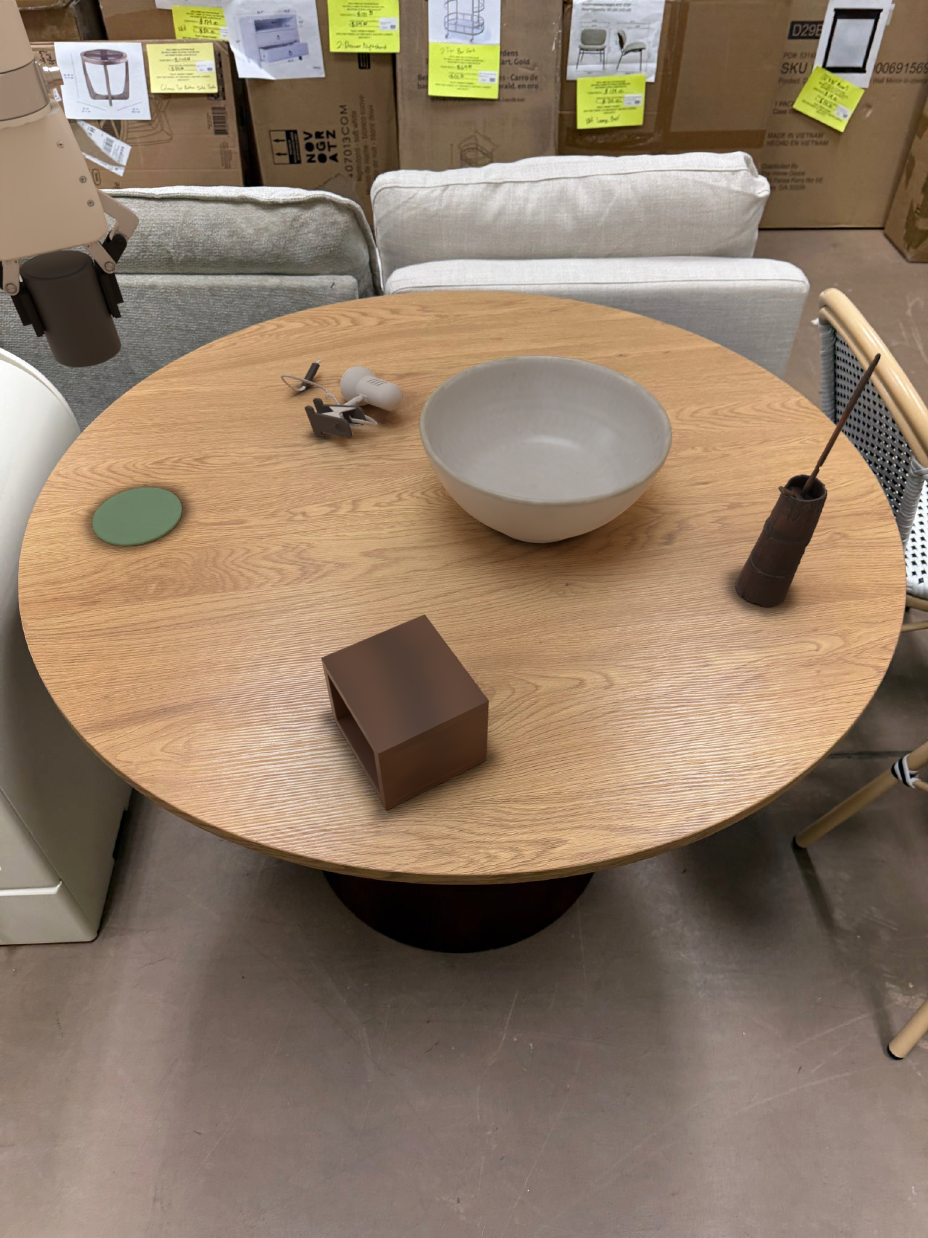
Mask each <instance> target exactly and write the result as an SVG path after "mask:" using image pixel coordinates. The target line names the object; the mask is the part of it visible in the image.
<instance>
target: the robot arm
mask: <svg viewBox="0 0 928 1238" xmlns="http://www.w3.org/2000/svg"><path fill="white" fill-rule="evenodd" d="M17 3H18V2H17V0H0V290H2V291H4V293H5V294H6V295H8V296H10V298H11V301H12V303H13V306H14V308H15V310H16V312H17V315H18V317H19V320H20V322H21V325H22V326H23V327H28V326H30V325H31V326H32V328H33V330H34V333H35V335H36V337H37V339H38V338H42V337H44V336H45V333H44V330H43V328H42V325H41V323H40V321H39V318H38V316H37V313H36V311H35V308H34V306H33V304H32V301H31V299H30V296H29V294H28V292H27V289H26V288H25V286H24V283H23V281H22V280H20V278H21V276H20V267H21V259H28V258H33V257H35V256H38V255H42V254H47V253H51V252H56V251H61V250H71V249H74V248H79V247H84V248H85V250H86V251H87V252H88V254H89V255H90V257H91V258H92V259H93V263H94V266H95V269H96V272H97V275H98V278H99V281H100V283H101V286H102V289H103V292H104V295H105V298H106V301H107V304H108V307H109V310H110V313H111V316H112V318H113V319H114V318H115V319H120V318H122V313H121V311H120V308H119V305H120V304H124V303H125V301H124V298H123V295H122V291H121V288H120V285H119V281H118V279H117V275H116V274H115V272H117V270H118V269H117V268H118V267H117V265H118V263H119V261H120V259H121V257H122V256H123V254H124V252H125V251H126V248H127V246H128V241H129V240H130V239H131V238H132V237H133V235H134V233H135V231H136V229H137V228H138V226H139V224H140V219H139V217H138V215H137V214H136V213H135V212H134V210H132V209H131V208H130V207H127V206H126V205H125V204H123V203H122V202H120V201H118V200H117V199H115V198H114V197H112V196H111V195H109V194H108V193H107V192H105V191H103V190H101V189H100V188H98V187H97V186H96V184H95V183H94V180H93V177H92V174H91V171H90V170H89V166H88V164H87V162H86V159H85V157H84V153H83V152H82V150H81V148H80V146H79V143H78V141H77V139H76V137H75V134H74V132H73V130H72V127H71V124H70V122H69V120H68V118H67V116H66V114H65V112H64V110H63V108H62V106H61V105H60V103H59V102H58V100H56V99H53V98H50V96H49V94H51V93H52V91H51V90H53V89H55V87H58V86H64V85H65V83H64V79H63V75H62V72H61V70H60V67H59V65H58V64H57V63H56V64H55V63H54V64H47V63H41V61H40V60H39V59H36V58H35V54H34V51H33V48H32V45H31V43H30V40H29V37H28V34H27V31H26V27H25V25H24V22H23V18H22V16H21V13H20V10H19V7H18V4H17ZM106 215H108V216H110V217H111V218H113V219H114V220H115V223H114V224H113V228H112V229H110V230H109V225H108V221H107V217H106ZM103 238H105V239H104V240H103V242H101V240H102V239H103Z"/></svg>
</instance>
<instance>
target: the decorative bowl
mask: <svg viewBox="0 0 928 1238" xmlns="http://www.w3.org/2000/svg"><path fill="white" fill-rule="evenodd" d="M418 423H419V435H420V440H421V444H422V447H423V451H424V453H425V456H426V458H427V460H428V462H429V464H430V466H431V469H432V471H433V473H434V474H435V476H436V478H437V479H438V481H439V482H440V484H441V485H442V487H443V488H444V489H445V491H446V492H447V494H448V495H449V496H450V497H451V498H452V499H453V500H454V502H455V503H456V504H458V506H459V507H461V508H462V510H463V511H465V512H466V513H467V514H468V515H470V516H471V517H472V518H474V519H475V520H477V521H478V522H480V523H481V524H483V525H485V526H487V527H489V528H491V529H493V530H495V531H497V532H500V533H502V534H504V535H506V536H508V537H510V538H512V539H515V540H518V541H522V542H526V543H532V544H533V543H535V544H547V543H555V542H559V541H563V540H566V539H569V538H574V537H577V536H580V535H581V536H582V535H584V534H587V533H589V532H592V531H594V530H597V529H599V528H601V527H602V526H605V525H606V524H608V523H610V522H611V521H613V520H615V519H617V517H619V516H620V515H622V514H623V513H624V512H626V511H627V510H628V509H629V508H630V507H631V506H632V505H634V504H635V503H636V502H637V501H638V500H639V499H640V498H641V497H642V495H643V494H644V493H645V492H646V491H647V489H648V488H649V487H650V486H651V485H652V483H653V482H654V480H655V479H656V477H657V476H658V474H659V473H660V471H661V470H662V469H663V467H664V464H665V463H666V461H667V458H668V456H669V454H670V452H671V448H672V444H673V443H672V442H673V429H672V423H671V421H670V417H669V415H668V413H667V411H666V409H665V408H664V406H663V404H662V403H661V402H660V400H658V398H657V397H656V396H655V395H654V394H653V393H652V392H651V391H650V390H648V389H647V387H645V386H643V385H642V384H641V383H639V382H638V381H637V380H635V379H633V378H631V377H630V376H628V375H626V374H624V373H622V372H620V371H618V370H615V369H613V368H610V367H608V366H605V365H602V364H599V363H596V362H592V361H588V360H584V359H579V358H574V357H568V356H559V355H544V354H531V355H527V354H526V355H516V356H507V357H501V358H495V359H492V360H488V361H484V362H481V363H478V364H475V365H472V366H470V367H467V368H465V369H463V370H460V371H459V372H457V373H455V374H453V375H452V376H450V377H449V378H447V379H446V380H445V381H443V382H442V383H440V384H439V386H437V387H436V388H435V389H434V390H433V391H432V392H431V393H430V395H429V396H428V398H427V399H426V401H425V403H424V405H423V407H422V409H421V412H420V417H419V422H418Z"/></svg>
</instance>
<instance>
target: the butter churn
mask: <svg viewBox="0 0 928 1238" xmlns="http://www.w3.org/2000/svg"><path fill="white" fill-rule="evenodd" d="M881 357H882V354H881V353H880V352H877V353H876V354H875V356H874V358H873V359H872V361H871V362H870V363H869V365H868V367H867V369H866V370H865V372H864V373H863V375H862V377H861V379H860V380H859V381H858V384H857V386H856V387H855V390H854V392H853V394H852V395H851V398H850V399H849V401H848V403H847V405H846V407H845V409H844V411H843V413H842V415H841V417H840V419H839V421H838V422H837V425H836V426H835V428H834V431H833V432H832V434H831V435H830V438H829V439H828V441H827V443H826V445H825V447H824V449H823V451H822V452H821V455H820V457H818V460H817V463H816V465H815V466H814V469H813V470H812V471H811V473H810V475H809V474H805V473H801V474H797V475H794V476H792V477H790V478H789V480H787V482H786V484H785V485H784V486H783V485H780V486H778V487H777V489H778V491H779V492H780V493H779V497H778V499H777V501H776V502H775V504H774V506H773V507H772V509H771V512H770V514H769V516H768V517H767V518H766V520H765V521H764V524H763V528H762V530H761V532H760V534H759V536H758V538H757V541H756V542H755V544H754V546H753V548H752V549H751V550H750V552H749V556H748V557H747V559H746V561H745V563H744V565H743V567H742V569H741V570H740V573H739V574H738V576H737V577H736V578H735V583H734V584H735V586H734V587H735V590H736V593H737V594H738V596H739V598H743V599H745V600H746V601H748V602H750V603H752V604H756V605H758V606H760V607H763V608H774V607H777V606H779V605H781V604H782V603H783V602H784V601H785V598H786V596H787V595H788V592H789V590H790V588H791V585H792V583H793V580H794V578H795V575H796V573H797V572H798V568H799V566H800V565H801V561H802V559H803V556H804V555H805V553H806V548H807V547H808V546H809V544H810V543H811V541H812V539H813V537H814V533H815V530H816V528H817V526H818V523H819V521H820V518H821V514H822V513H823V509H824V507H825V503H826V501H827V498H828V489H827V488H826V484H825V483H823V482H822V480H820V479H819V477H817V476H818V475H819V474H820V471H821V469H820V468H821V467H823V466H824V464H825V462H826V460H827V458H828V456H829V455H830V452H831V451H832V449H833V447H834V445H835V444H836V441H837V439H838V438H839V435H840V434H841V432H842V430H843V428H844V426H845V425H846V422H847V421H848V419H849V417H850V416H851V414H852V411H853V410H854V408H855V406H856V404H857V402H858V400H859V399H860V397H861V396H862V394H863V392H864V390H865V388H866V386H867V384H868V383H869V381H870V379H871V377H872V375H873V373H874V372H875V369H876V367H877V366H878V364H879V363H880V361H881Z"/></svg>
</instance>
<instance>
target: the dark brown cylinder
mask: <svg viewBox="0 0 928 1238" xmlns="http://www.w3.org/2000/svg"><path fill="white" fill-rule="evenodd" d="M20 278H21V282H22V281H23V283H24V286H25V288H26V289H27V292H28V294H29V296H30V299H31V301H32V304H33V306H34V308H35V311H36V313H37V316H38V318H39V321H40V323H41V325H42V328H43V330H44V333H45V334H44V336H45V339H46V341H47V343H48V346H49V349H50V351H51V353H52V355H53V358H54V360H55V361H56V362H57V363H58V364H60V365H62V366H65V367H69V368H86V367H87V368H89V367H93V366H96V365H100V364H103V363H106V362H108V361H110V360H111V359H113V358H114V357H115V356H117V355H118V354H119V352H120V351H121V348H122V342H121V339H120V336H119V333H118V330H117V327H116V324H115V321H114V318H113V317H112V315H111V313H110V310H109V307H108V304H107V301H106V298H105V295H104V292H103V289H102V286H101V283H100V281H99V278H98V275H97V272H96V269H95V265H94V259H93V257H92V256H91V255H90V254H89V253H86V252H83V251H80V250H73V249H65V250H61V251H56V252H51V253H47V254H42V255H37V256H32V257H30V258H29V259H27V260H26V261H24V262H23V263H22V264H20Z"/></svg>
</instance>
